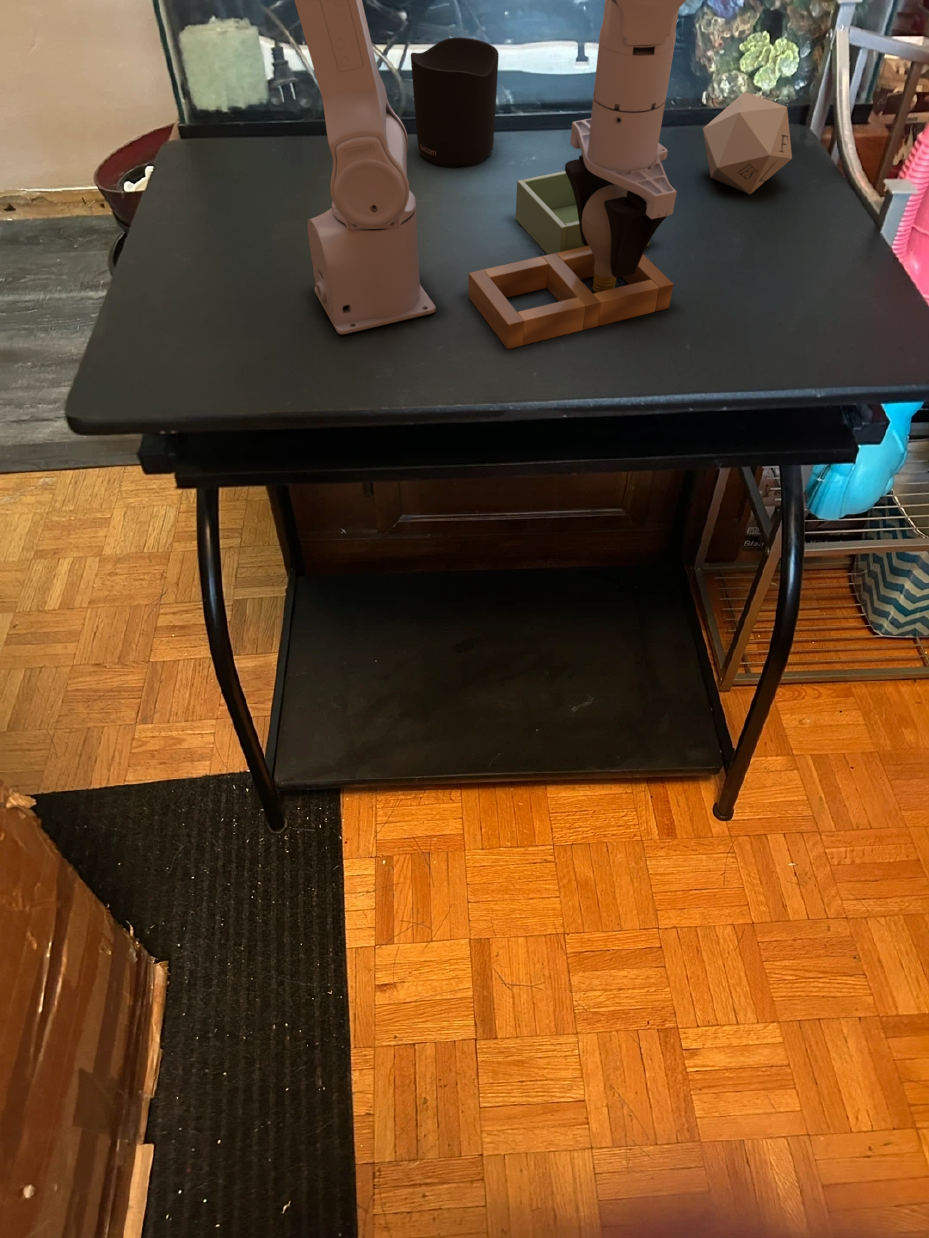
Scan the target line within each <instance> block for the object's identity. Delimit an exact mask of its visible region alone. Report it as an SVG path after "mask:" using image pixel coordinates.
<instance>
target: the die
mask: <svg viewBox="0 0 929 1238" xmlns="http://www.w3.org/2000/svg"><path fill="white" fill-rule="evenodd" d="M702 133H703V138H704V145H705V150H706V156H707V162H708V163H707V165H708V169H709V175H710V178H711V179H713V180H715V181H718V182H720V183H722V184H725V185H727V186H729V187H731V188H734V189H736V190H739V191H741V192H743V193H746V194H748V195H751V194H752V193H754V192H755V191H756V190H757V189H758V188H759V187H760V186H762V185H763V184H764V183H765V182H766V181H768V180H769V179H770V178H771V177H772V176H774V175H775V174H776V173H777V172H778V171H779V170H781V169H782V168H783V167H784V166H785V165H787V164H788V163H789V162H790V161H791V160H792V159H793V154H792V144H791V133H790V124H789V111H788V107H787V106H786V105H783V104H780V103H777V102H774V101H772V100H769V99H767V98H764V97H761V96H758V95H755V94H753V93H750V92H747V91H744V92H742V93H741V94H740V95H738V97H737V98H736V99H734V100H733V101H732V102H731V103H730V104H729V105H728V106H727V107H726V108H724V109H723V110H722V111H721V112H720V113H719V114H718V115H717V116H715V117H714V118H713V119H712V120H710V122H709V123H707V124H706V125H705V126H704V127H703V128H702Z"/></svg>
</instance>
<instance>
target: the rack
mask: <svg viewBox="0 0 929 1238" xmlns="http://www.w3.org/2000/svg"><path fill="white" fill-rule="evenodd" d="M594 265H595V258H594V255H593V253H592V251H591V249H590V247H589V246H585V247H580V248H576V249H572V250H567V251H563V252H559V253H554V254H549V255H547V254H545V255H542V256H540V255H539V256H536V257H532V258H528V259H523V260H519V261H515V262H511V263H507V264H502V265H497V266H493V267H488V268H484V269H480V270H479V269H478V270H475V271H470V272H468V298H469V300H470V301H471V302H472V304H473V306H474V307H475V308H476V309H477V310H478V312H479V313H480V314H481V315H482V317H483V318H484V320H485V321H486V323H487V324H488V326H490V328H491V330H493V332H494V333H495V334H496V336H497V338H498V339H499V340H500V342H501V343H502V344H503V345H504V347H505V348H506V350H510V349H513V348H519V347H522V346H526V345H529V344H533V343H538V342H541V341H544V340H549V339H553V338H557V337H561V336H565V335H569V334H574V333H576V332H581V331H585V330H589V329H593V328H596V327H599V326H600V327H601V326H605V325H609V324H612V323H616V322H620V321H624V320H628V319H633V318H636V317H639V316H643V315H647V314H652V313H655V312H659V311H664V310H667V309H669V308H670V303H671V299H672V294H673V290H674V289H673V288H674V283H673V281H671V279H669V278H668V277H667V276H666V274H664V273H663V272H662V271H661V270H660V269H659V268H658V267H657V266H656V265H655V264H654V263H653V262H652V261H651V260H650V259H649V258H647V256H646V255H645V254H643V255H642V257H641V260H640V262H639V264H638V267H637V269H636V271H635V273H634V274H631V275H627V276H623V277H621V278H622V279H623V280H624V282H626V283H627V284H626V285H623V286H619V287H615V288H614V289H610V290H606V291H602V292H598V293H596V292H594V293H593V292H592V291H591V290H590V289H589V288H588V286H587V285H586V284H585V283H584V282H583V281H582V280H585V279H589V278H594ZM544 289H547V290H548V291H549V292H550V294H551V295H552V296H553V297H554V298H555V299H556V300H557V302H553V303H547V304H544V305H539V306H536V307H532V308H527V309H524V310H519V311H517V310H516V309H515V307H514V306H513V305H512V304H511V303H510V302H509V300H508V298H510V297H515V296H519V295H524V294H527V293H531V292H536V291H539V290H544Z"/></svg>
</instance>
